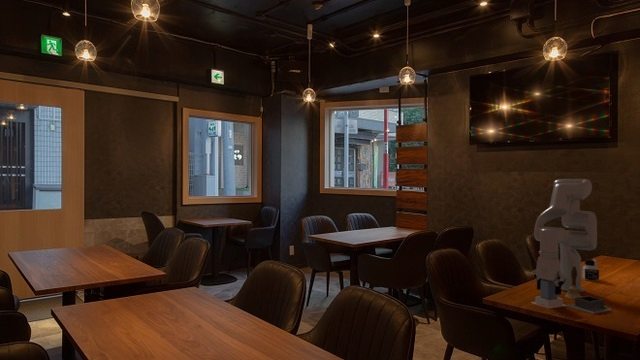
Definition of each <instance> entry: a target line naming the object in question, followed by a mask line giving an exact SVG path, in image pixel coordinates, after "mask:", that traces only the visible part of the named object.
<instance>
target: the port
mask: <svg viewBox="0 0 640 360" xmlns="http://www.w3.org/2000/svg"><path fill="white" fill-rule="evenodd" d="M567 307H569V308H574V309H576V310H579V311H583V312H586V313H590V314H599V313H605V312H610V311H611V312H612V308H610V307H609V306H605V300H604V299H602V298H598V297H594V296H591V295H585V296H581V297H578V298H575V299H574V303H568V304H567Z"/></svg>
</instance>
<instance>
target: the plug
mask: <svg viewBox="0 0 640 360" xmlns="http://www.w3.org/2000/svg"><path fill="white" fill-rule="evenodd" d="M555 286H556V284H555V282H554V281H549V280H544V279H542V280H541V290H540V296H541V298H543V299H547V300H551V299H557V297H558V295H555Z"/></svg>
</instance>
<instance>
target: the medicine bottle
mask: <svg viewBox="0 0 640 360" xmlns="http://www.w3.org/2000/svg"><path fill="white" fill-rule="evenodd" d="M597 263H598V260H596V259H593V258H586V259H584V265H583V266H582V279H583V280H584V281H589V282H599V281H600V269H599V268H598V266H597V265H598V264H597Z"/></svg>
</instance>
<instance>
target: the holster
mask: <svg viewBox="0 0 640 360" xmlns="http://www.w3.org/2000/svg"><path fill="white" fill-rule="evenodd" d="M534 299H535V301H531V302H530V303H531V304H533V305H536V306H539V307H543V308H545V309H553V308H555V309H556V308H562V307H568V304H567V305H566V304H564V303H563V300H564V299H563V297H562V298H561V297H559V296H557V299H551V300H547V299H543V298H541V295H538V296H535V297H534Z"/></svg>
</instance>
